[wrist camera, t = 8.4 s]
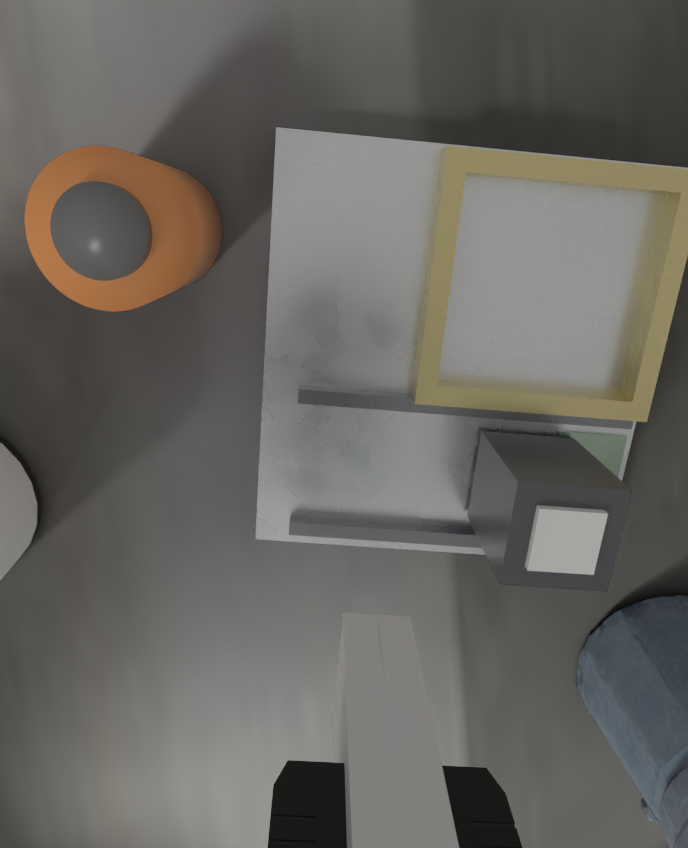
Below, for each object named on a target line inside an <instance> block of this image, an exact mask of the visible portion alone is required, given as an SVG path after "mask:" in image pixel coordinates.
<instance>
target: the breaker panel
mask: <svg viewBox="0 0 688 848" xmlns="http://www.w3.org/2000/svg"><path fill="white" fill-rule="evenodd" d="M687 256H688V168H685V167H675V166H665V165H654V164H644V163H634V162H624V161H614V160H604V159H594V158H584V157H573V156H563V155H553V154H543V153H533V152H523V151H513V150H503V149H492V148H482V147H472V146H462V145H452V144H442V143H432V142H421V141H411V140H401V139H391V138H381V137H371V136H361V135H351V134H340V133H330V132H320V131H310V130H300V129H290V128H280V127H276V139H275V159H274V179H273V198H272V218H271V238H270V258H269V278H268V298H267V318H266V337H265V357H264V377H263V397H262V417H261V437H260V457H259V476H258V496H257V516H256V536H255V539H259V540H273V541H288V542H303V543H318V544H333V545H348V546H363V547H377V548H392V549H407V550H422V551H437V552H452V553H467V554H481V555H485V553H484V551H483V549H482V546H481V544H480V542H479V540H478V538H477V536H476V534H475V531H474V529H473V527H472V525H471V523H470V521H469V518H468V510H469V504H470V498H471V492H472V486H473V479H474V473H475V467H476V461H477V455H478V448H479V442H480V436H481V431H488V432H501V433H514V434H527V435H540V436H553V437H566V438H574V439H575V440H576V441H578V442H579V443H580V444H581V445H582V446H583V447H584V448H585V449H586V450H588V451H589V452H590V453H591V454H592V455H593V456H594V457H595V458H596V459H598V460H599V461H600V462H601V463H602V464H603V465H604V466H605V467H607V468H608V469H609V470H610V471H611V472H612V473H613V474H614V475H615V476H617V477H618V478H619V479H620V480H621V481H622V479H623V475H624V471H625V467H626V463H627V458H628V454H629V450H630V446H631V442H632V437H633V433H634V429H635V425H636V421H637V422H647V420H648V416H649V412H650V408H651V403H652V399H653V395H654V391H655V387H656V383H657V379H658V375H659V371H660V367H661V363H662V358H663V354H664V350H665V346H666V342H667V338H668V334H669V330H670V326H671V322H672V318H673V313H674V309H675V305H676V301H677V297H678V293H679V289H680V285H681V281H682V277H683V273H684V268H685V264H686V260H687Z"/></svg>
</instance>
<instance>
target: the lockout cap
mask: <svg viewBox="0 0 688 848" xmlns="http://www.w3.org/2000/svg"><path fill="white" fill-rule="evenodd" d="M25 231H26V237H27V241H28V245H29V248H30V251H31V253H32V256H33V258H34V260H35V262H36V264H37V265H38V267H39V269H40V270H41V271H42V273H43V274H44V276H45V277H46V278H47V279H48V280H49V282H50V283H51V284H52V285H53V286H54V287H55V288H57V289H58V290H59V291H60V292H61V293H63V294H64V295H65V296H67V297H68V298H70V299H72V300H73V301H75V302H77V303H79V304H82V305H84V306H86V307H89V308H93V309H97V310H103V311H126V310H131V309H135V308H138V307H141V306H143V305H145V304H148V303H150V302H152V301H154V300H156V299H158V298H161V297H163V296H165V295H167V294H169V293H171V292H174V291H176V290H178V289H180V288H182V287H184V286H186V285H189V284H191V283H193V282H194V281H196V280H198V279H199V278H201V277H202V276H203V275H204V274H205V273H206V272H207V271H208V270H209V269H210V268H211V266H212V265H213V263H214V262H215V260H216V258H217V256H218V253H219V250H220V247H221V242H222V223H221V217H220V214H219V210H218V208H217V205H216V203H215V201H214V199H213V198H212V196H211V194H210V193H209V192H208V190H207V189H206V188H205V187H204V186H203V185H202V184H201V183H200V182H199V181H198V180H197V179H196V178H194V177H193V176H191V175H190V174H188V173H186V172H184V171H182V170H180V169H177V168H174V167H171V166H168V165H165V164H162V163H159V162H156V161H153V160H150V159H147V158H144V157H141V156H138V155H135V154H132V153H129V152H127V151H123V150H120V149H117V148H113V147H107V146H85V147H80V148H76V149H72V150H70V151H67V152H65V153H63V154H61V155H59V156H58V157H56V158H55V159H53V160H52V161H51V162H50V163H49V164H47V165H46V166H45V167H44V168H43V170H42V171H41V172H40V173H39V174H38V176H37V178H36V179H35V181H34V183H33V185H32V187H31V189H30V192H29V194H28V198H27V202H26V208H25Z"/></svg>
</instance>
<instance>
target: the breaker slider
mask: <svg viewBox="0 0 688 848" xmlns="http://www.w3.org/2000/svg"><path fill="white" fill-rule="evenodd" d="M631 493H632V490H631V489H630V488H629V487H628V486H627V485H626V484H624V483H623V482H622V481H621V480H620V479H619V478H618V477H617V476H615V475H614V474H613V473H612V472H611V471H610V470H609V469H608V468H607V467H605V466H604V465H603V464H602V463H601V462H600V461H599V460H598V459H596V458H595V457H594V456H593V455H592V454H591V453H590V452H589V451H588V450H586V449H585V448H584V447H583V446H582V445H581V444H580V443H579V442H578V441H576V440H575V439H574V438H566V437H553V436H540V435H527V434H514V433H501V432H488V431H481V436H480V442H479V448H478V455H477V461H476V467H475V473H474V479H473V486H472V492H471V498H470V504H469V510H468V518H469V521H470V523H471V525H472V527H473V529H474V531H475V534H476V536H477V538H478V540H479V542H480V544H481V546H482V549H483V551H484V553H485V555H486V557H487V559H488V561H489V564H490V566H491V568H492V570H493V572H494V574H495V576H496V579H497V581H498V583H499V584H503V585H518V586H533V587H549V588H564V589H580V590H595V591H608V587H609V583H610V579H611V575H612V571H613V567H614V562H615V558H616V554H617V550H618V546H619V542H620V538H621V534H622V530H623V526H624V522H625V518H626V514H627V510H628V505H629V501H630V497H631Z"/></svg>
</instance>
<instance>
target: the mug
mask: <svg viewBox="0 0 688 848" xmlns="http://www.w3.org/2000/svg"><path fill="white" fill-rule="evenodd" d="M39 522H40V499H39V495H38V491H37V487H36V483H35V480H34V477H33V476H32V474H31V472H30V470H29V469H28V467H27V465H26V463H25V462H24V460H23V459H22V458H21V456H20V455H19V454H18V453H17V452H16V451H15V450H14V449H13V448H12V447H11V446H10V445H9V444H8V443H7V442H6V441H5V440H3V439H2V438H0V580H1V579H2V578H3V577H4V576H5V575H6V573H7V572H8V571H9V570H10V569H11V567H12V566H13V565H14V564H15V563H16V562H17V560H18V559H19V558H20V557H21V556H22V554H23V553H24V552H25V551H26V549H27V548H28V547H29V545H30V544H31V543H32V541H33V539H34V537H35V534H36V531H37V528H38V525H39Z"/></svg>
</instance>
